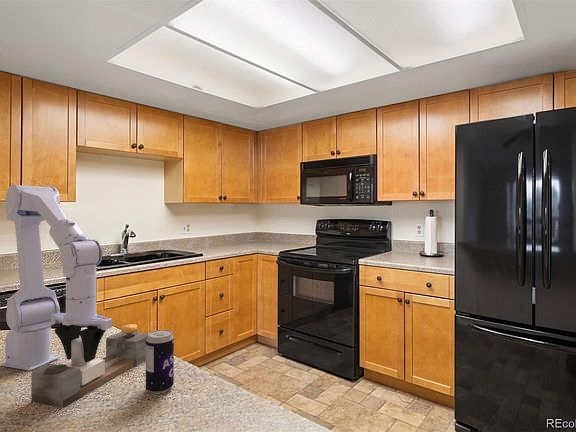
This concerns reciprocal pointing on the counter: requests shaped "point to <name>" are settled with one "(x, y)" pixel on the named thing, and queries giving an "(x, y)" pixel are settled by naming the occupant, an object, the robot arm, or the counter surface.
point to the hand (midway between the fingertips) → (80, 359)
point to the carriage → (84, 363)
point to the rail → (66, 380)
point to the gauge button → (129, 330)
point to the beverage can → (159, 361)
